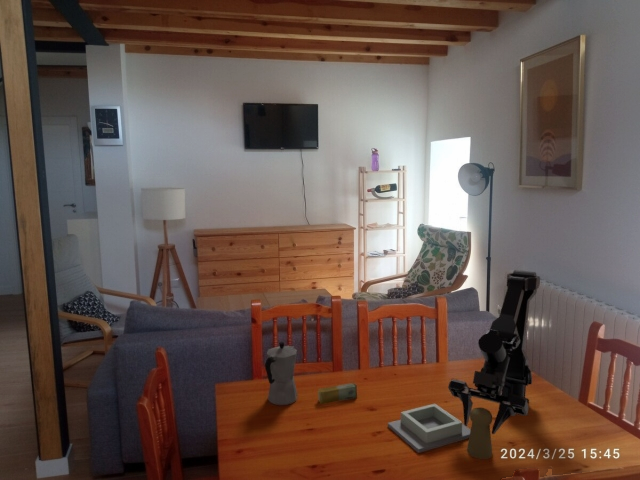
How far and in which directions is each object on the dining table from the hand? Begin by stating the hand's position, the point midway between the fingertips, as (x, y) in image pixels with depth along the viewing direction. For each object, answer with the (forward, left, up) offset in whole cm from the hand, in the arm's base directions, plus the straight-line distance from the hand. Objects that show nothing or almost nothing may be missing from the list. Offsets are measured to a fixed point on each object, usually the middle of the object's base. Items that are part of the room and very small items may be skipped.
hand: (478, 429), depth 119 cm
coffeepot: (+34, -48, -7) cm, 59 cm away
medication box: (+18, -41, -7) cm, 45 cm away
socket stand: (+4, -14, -7) cm, 16 cm away
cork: (-1, -1, -7) cm, 7 cm away
